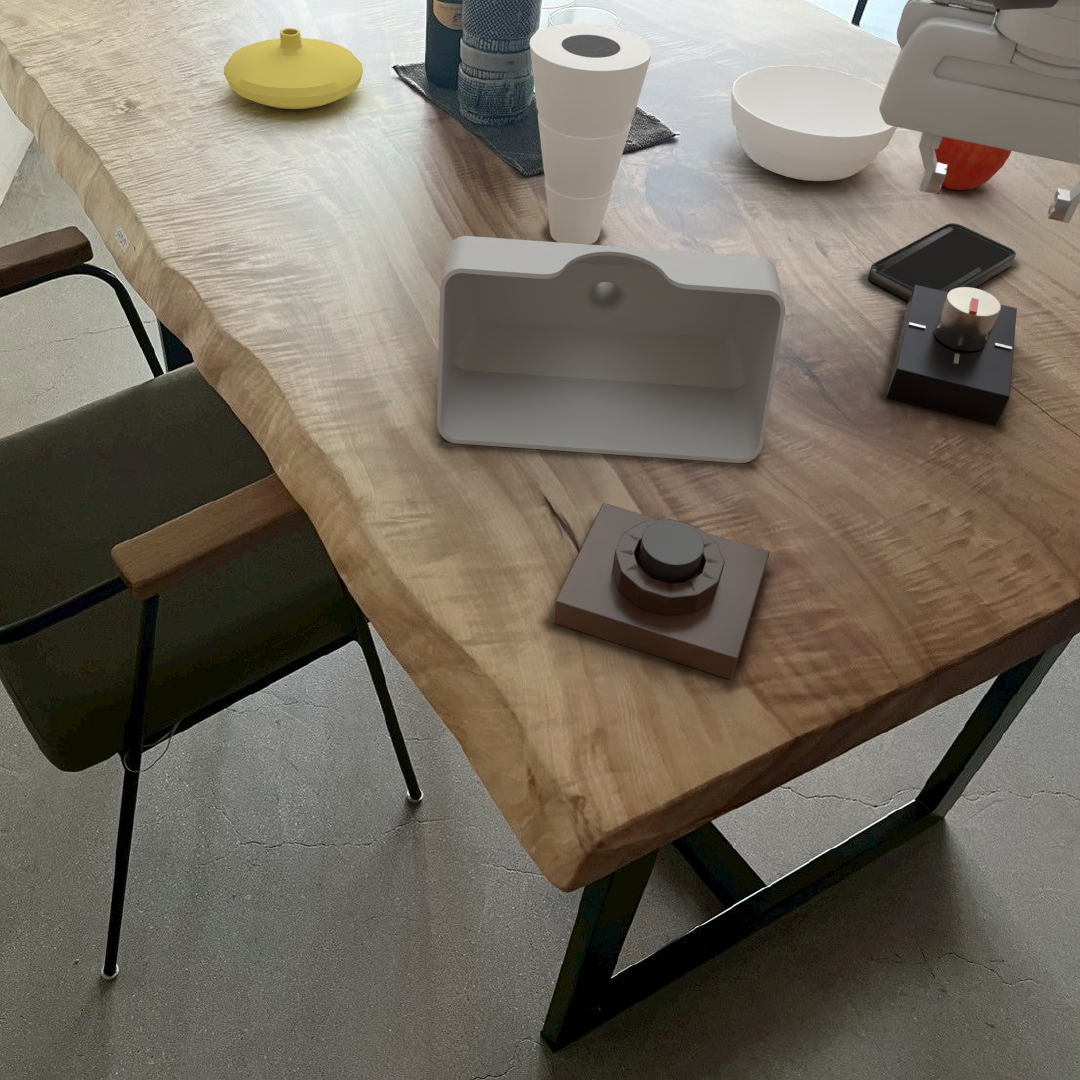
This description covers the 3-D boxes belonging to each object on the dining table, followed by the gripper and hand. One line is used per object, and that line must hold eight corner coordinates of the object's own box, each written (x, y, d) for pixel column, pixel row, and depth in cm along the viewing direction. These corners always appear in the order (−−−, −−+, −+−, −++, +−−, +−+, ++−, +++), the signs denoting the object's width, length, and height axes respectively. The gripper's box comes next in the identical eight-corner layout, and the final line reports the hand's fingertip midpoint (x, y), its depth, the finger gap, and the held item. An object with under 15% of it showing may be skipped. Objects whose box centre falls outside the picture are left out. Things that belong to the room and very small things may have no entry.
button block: (763, 572, 73) (776, 532, 70) (731, 680, 66) (743, 640, 63) (599, 524, 75) (605, 483, 72) (552, 623, 68) (556, 582, 66)
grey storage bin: (740, 344, 92) (770, 213, 83) (759, 464, 81) (797, 327, 72) (456, 324, 92) (456, 190, 83) (436, 442, 80) (433, 302, 72)
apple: (984, 210, 112) (1023, 111, 104) (909, 187, 115) (942, 89, 107) (1003, 181, 117) (1041, 84, 109) (931, 160, 120) (963, 64, 112)
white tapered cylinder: (649, 235, 104) (676, 49, 91) (580, 275, 98) (598, 81, 86) (569, 196, 109) (584, 14, 96) (498, 231, 103) (504, 42, 90)
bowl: (872, 135, 124) (890, 73, 118) (893, 211, 111) (915, 144, 106) (717, 120, 124) (729, 57, 119) (721, 193, 111) (734, 126, 106)
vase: (238, 65, 127) (228, 3, 122) (368, 70, 129) (364, 9, 124) (217, 122, 116) (206, 57, 111) (360, 126, 118) (356, 62, 113)
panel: (904, 312, 97) (915, 282, 95) (1004, 336, 95) (1017, 306, 93) (886, 397, 88) (897, 367, 85) (996, 425, 86) (1010, 395, 84)
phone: (866, 267, 100) (953, 220, 107) (863, 277, 101) (949, 230, 108) (936, 304, 96) (1021, 253, 103) (932, 314, 97) (1017, 263, 104)
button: (706, 549, 69) (710, 530, 68) (691, 591, 66) (695, 572, 65) (648, 532, 70) (651, 513, 68) (630, 572, 67) (634, 553, 66)
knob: (936, 317, 91) (950, 278, 88) (987, 329, 90) (1004, 291, 88) (931, 343, 88) (946, 305, 85) (984, 356, 87) (1001, 318, 85)
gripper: (907, -6, 68) (848, 191, 78) (1242, 55, 64) (1135, 255, 74) (916, -35, 72) (859, 156, 82) (1231, 21, 68) (1131, 214, 78)
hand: (992, 203), depth 78 cm, fingers open, 8 cm apart
